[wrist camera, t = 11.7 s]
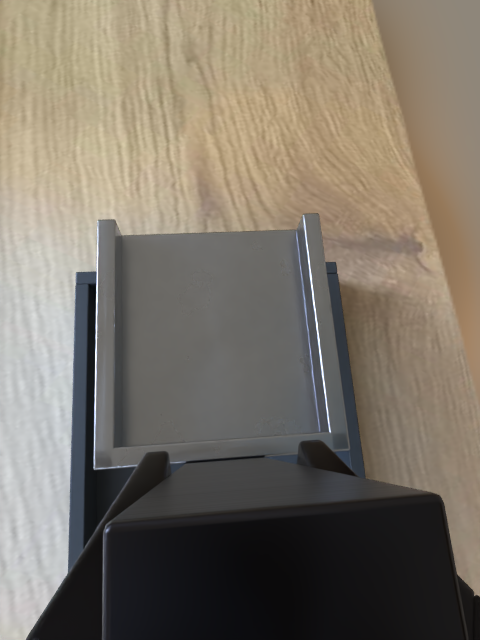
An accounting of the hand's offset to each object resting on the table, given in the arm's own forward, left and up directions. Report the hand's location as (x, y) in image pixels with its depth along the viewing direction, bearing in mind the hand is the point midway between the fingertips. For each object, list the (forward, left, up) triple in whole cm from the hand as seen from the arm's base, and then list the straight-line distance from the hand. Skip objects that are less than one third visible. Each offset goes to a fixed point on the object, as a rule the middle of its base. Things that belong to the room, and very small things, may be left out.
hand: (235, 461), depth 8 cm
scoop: (+3, +1, -7) cm, 7 cm away
